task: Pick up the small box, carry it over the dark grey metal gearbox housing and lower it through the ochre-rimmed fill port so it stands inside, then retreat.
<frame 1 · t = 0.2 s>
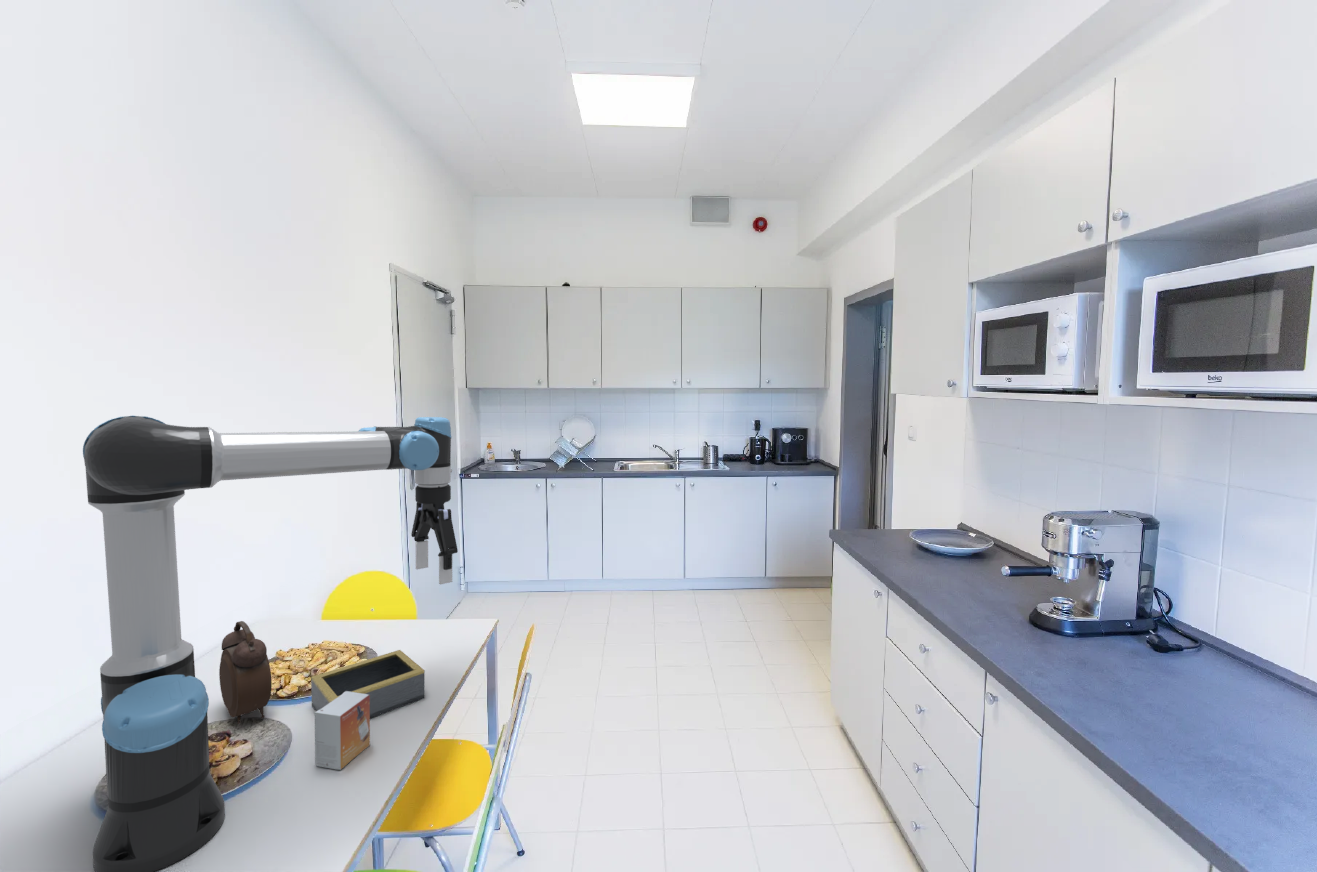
hand: (433, 575, 127), 28 cm above the table, fingers open, 13 cm apart
housing: (369, 701, 124), on the table
alarm clock: (247, 714, 118), on the table
small box: (343, 756, 106), on the table
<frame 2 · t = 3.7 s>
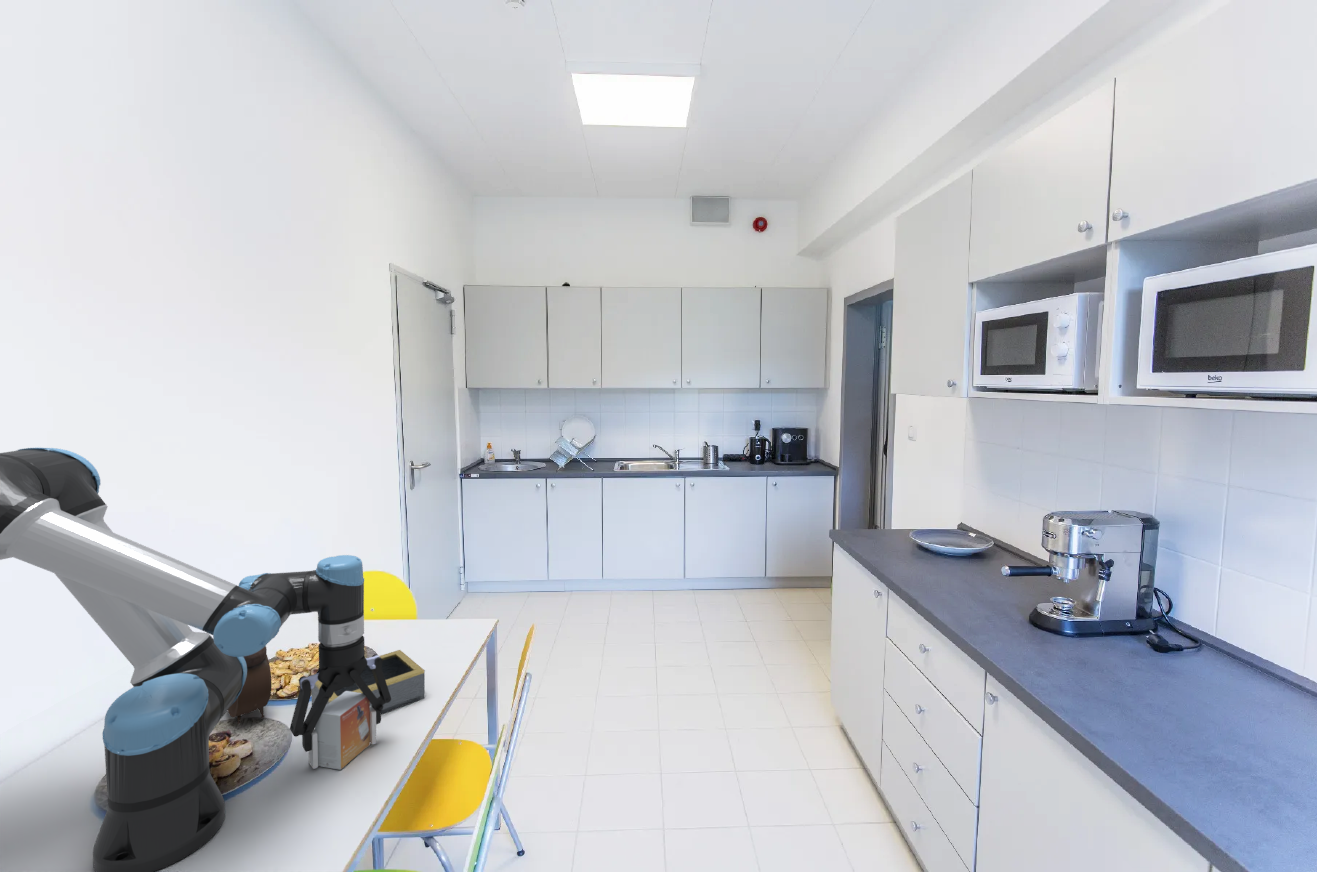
hand: (343, 752, 106), 1 cm above the table, fingers closed on small box, 9 cm apart
small box: (343, 756, 106), on the table, touching gripper
everything else where it was.
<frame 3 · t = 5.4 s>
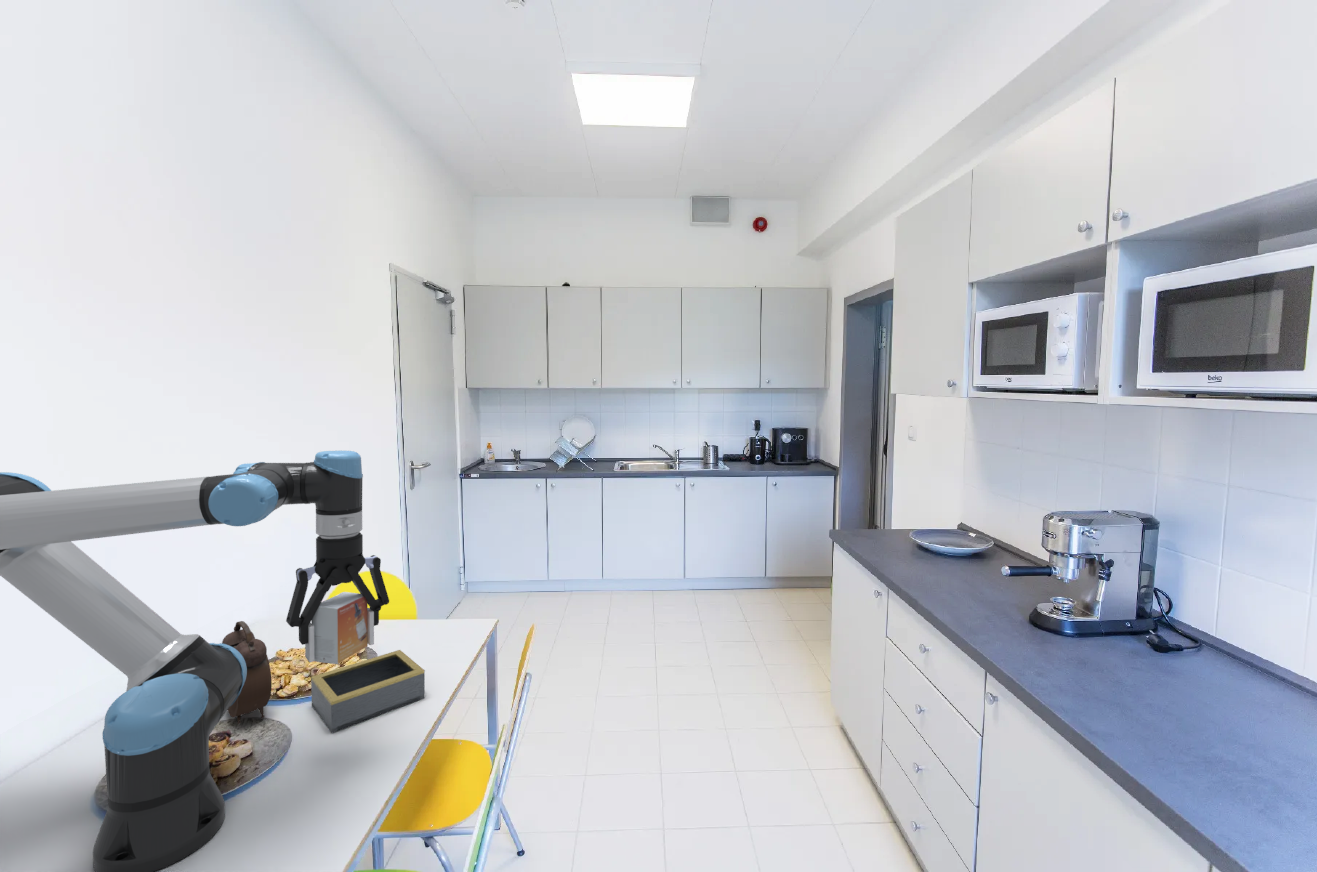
hand: (340, 650, 104), 21 cm above the table, fingers closed on small box, 9 cm apart
small box: (340, 654, 104), point 20 cm above the table, touching gripper
everything else where it was.
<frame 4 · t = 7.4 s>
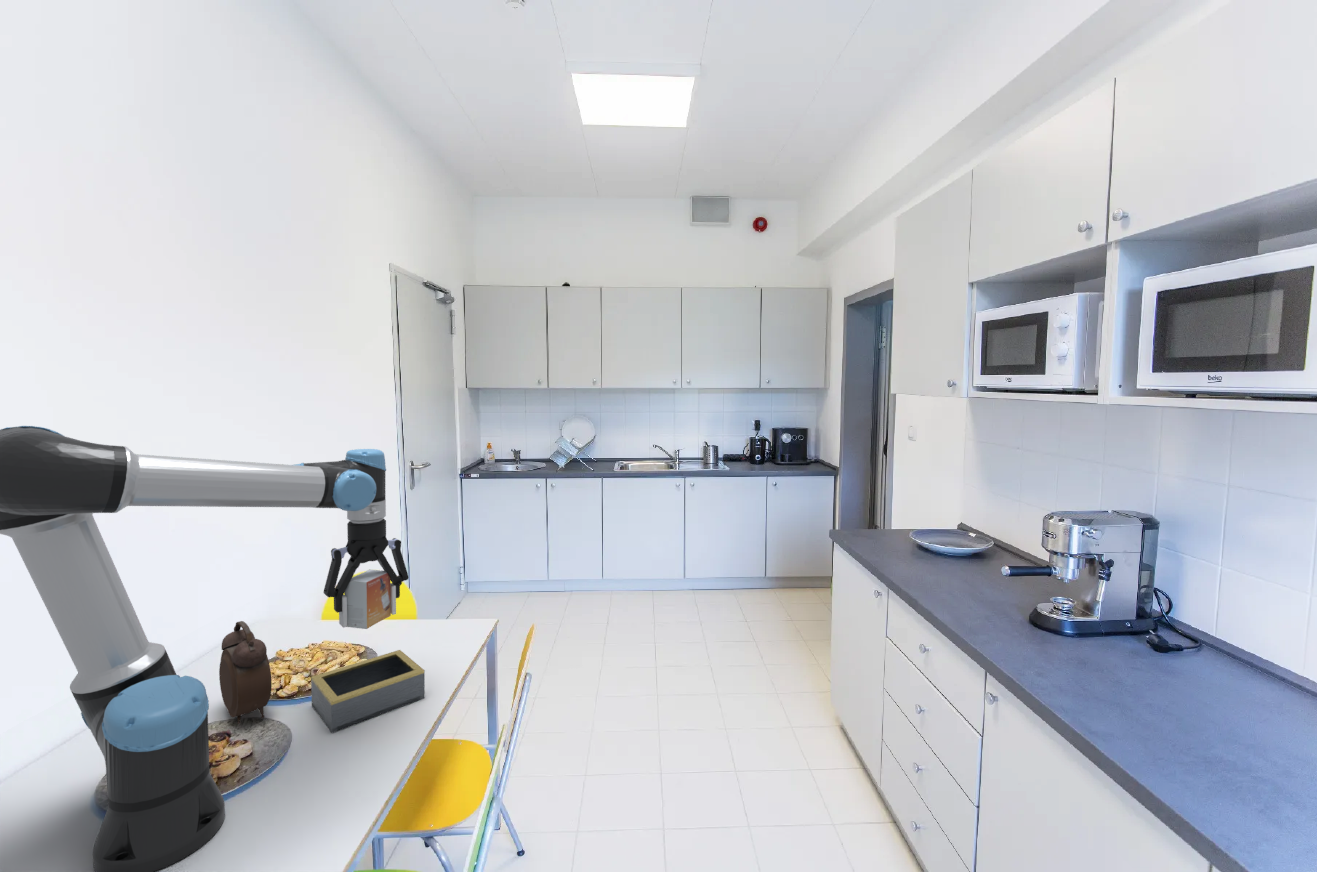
hand: (368, 618, 122), 19 cm above the table, fingers closed on small box, 9 cm apart
small box: (368, 622, 122), point 18 cm above the table, touching gripper
everything else where it was.
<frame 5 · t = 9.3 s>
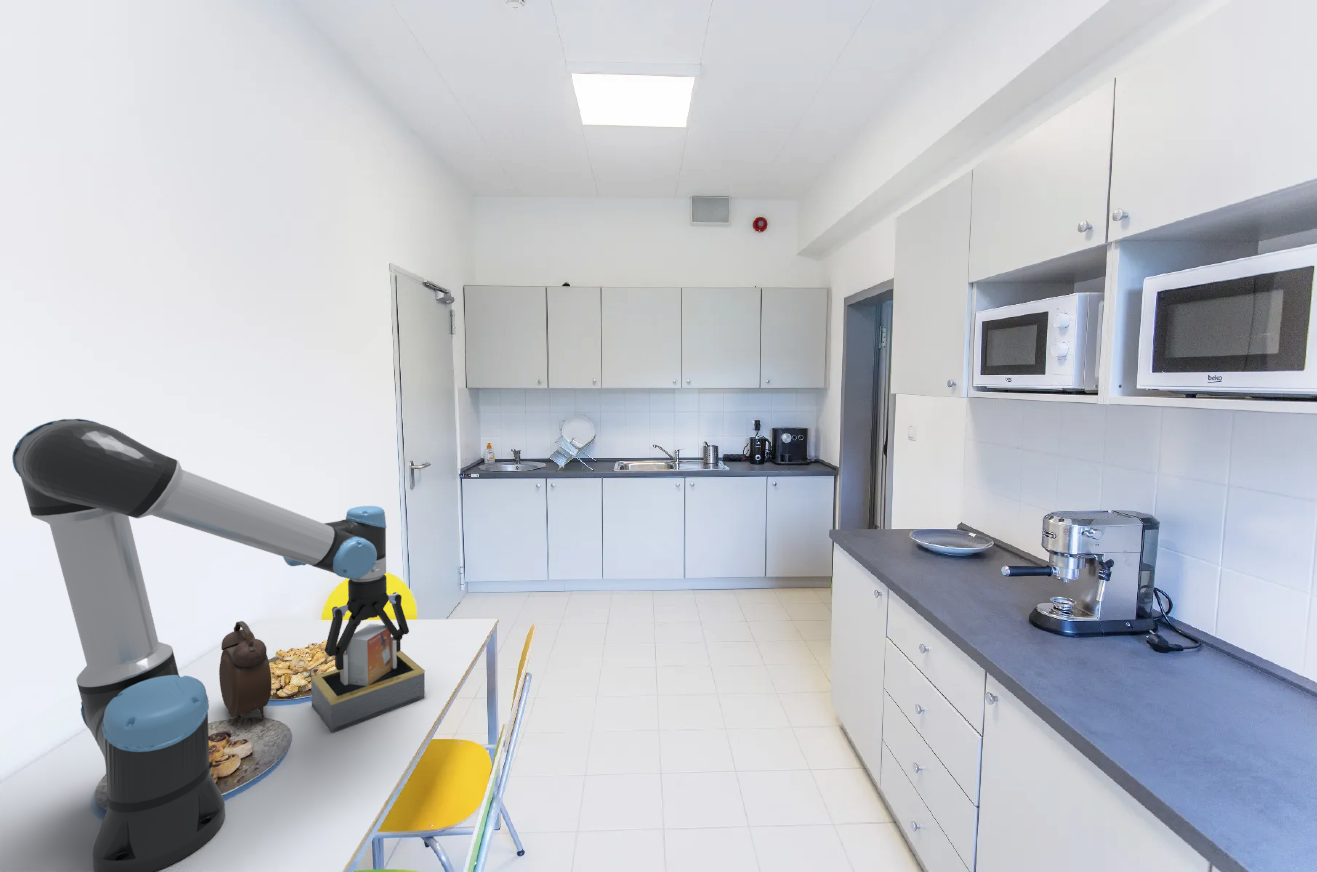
hand: (369, 674, 123), 6 cm above the table, fingers closed on small box, 9 cm apart
small box: (369, 677, 123), point 6 cm above the table, touching gripper
everything else where it was.
when the fingers open (4 cm above the table, at t = 11.0 s): small box drops 2 cm, resting on housing.
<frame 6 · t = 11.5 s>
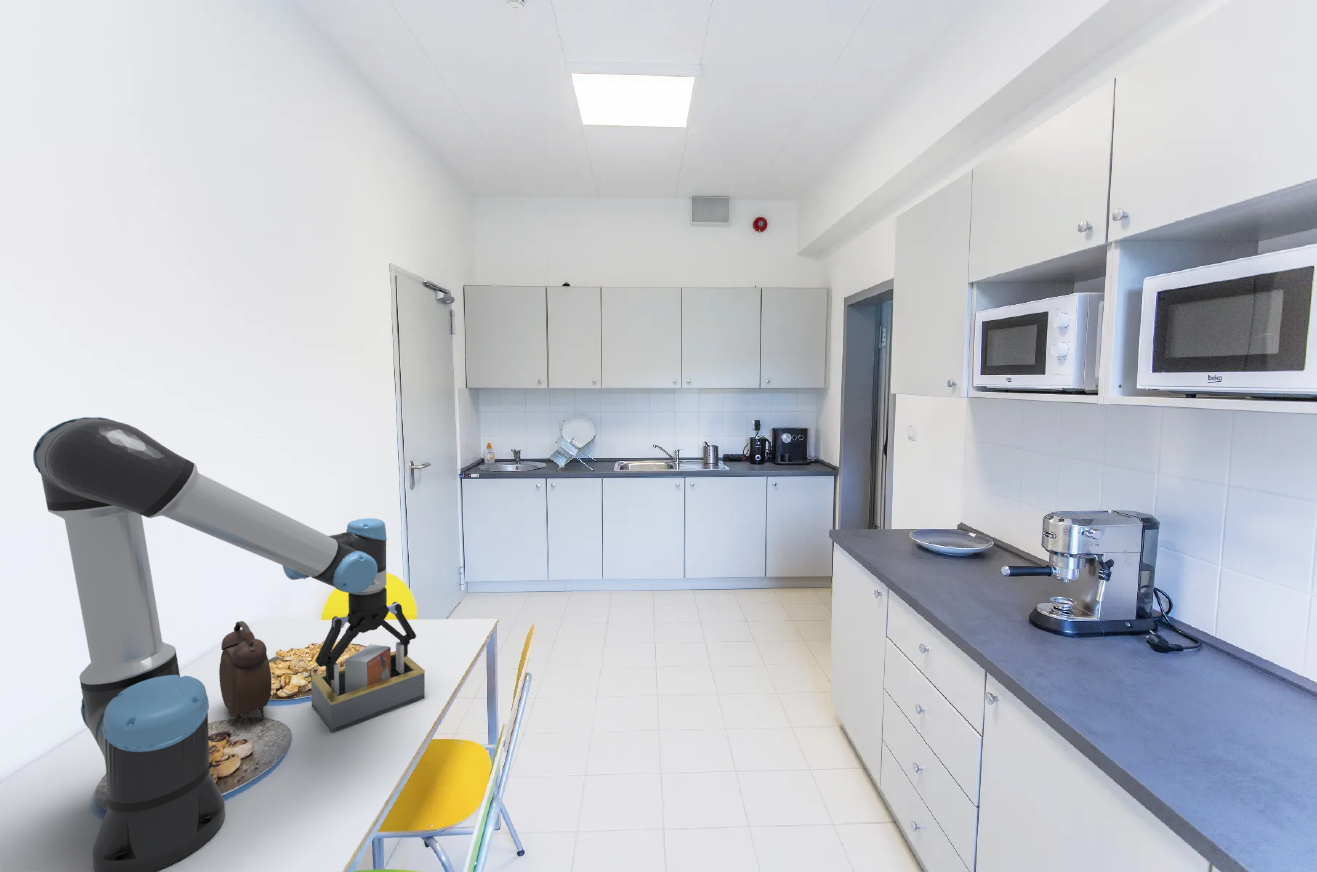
hand: (368, 681, 123), 5 cm above the table, fingers open, 13 cm apart
small box: (368, 698, 124), point 1 cm above the table, touching housing
everything else where it was.
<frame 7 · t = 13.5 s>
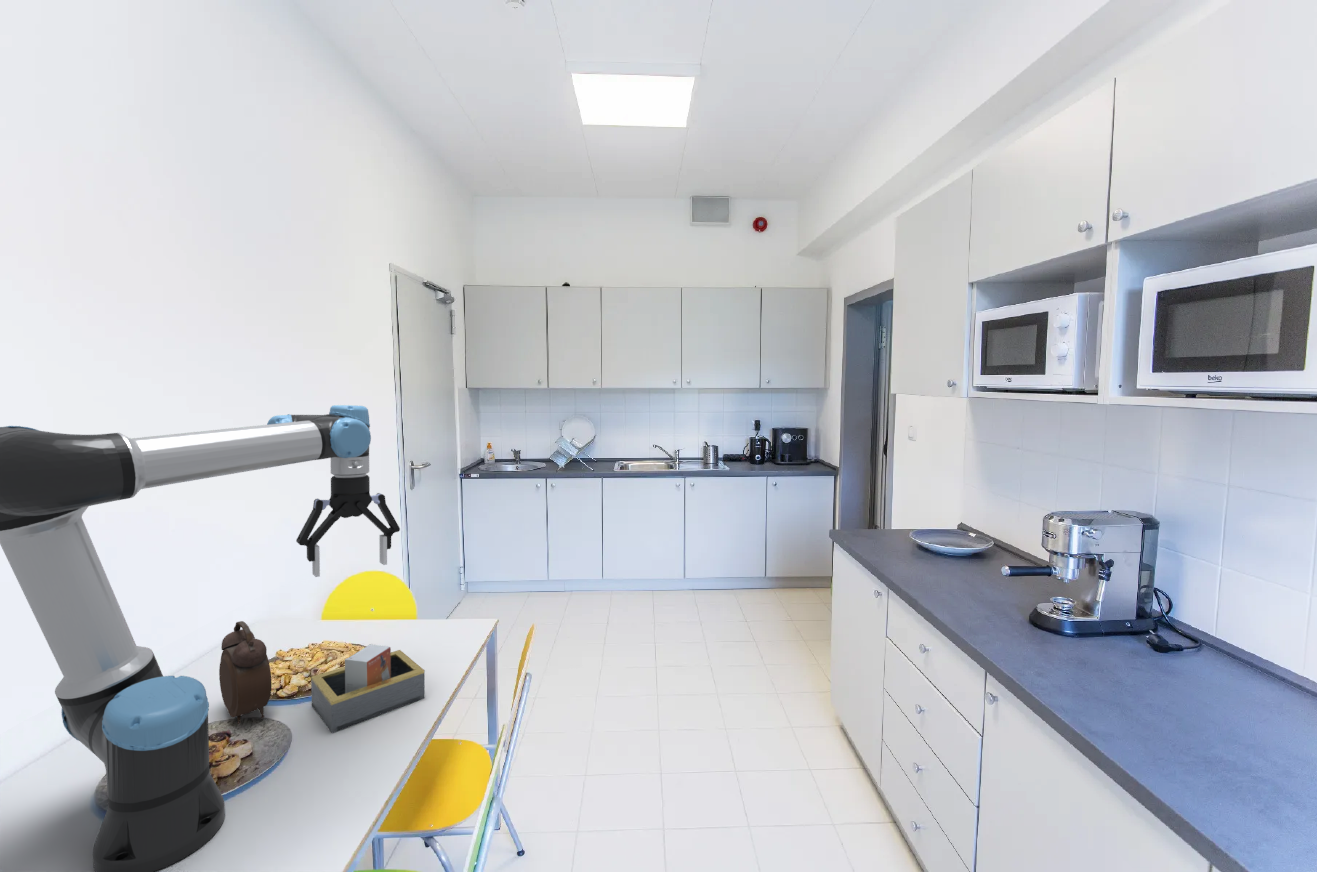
hand: (351, 569, 123), 30 cm above the table, fingers open, 13 cm apart
nothing on the table moved.
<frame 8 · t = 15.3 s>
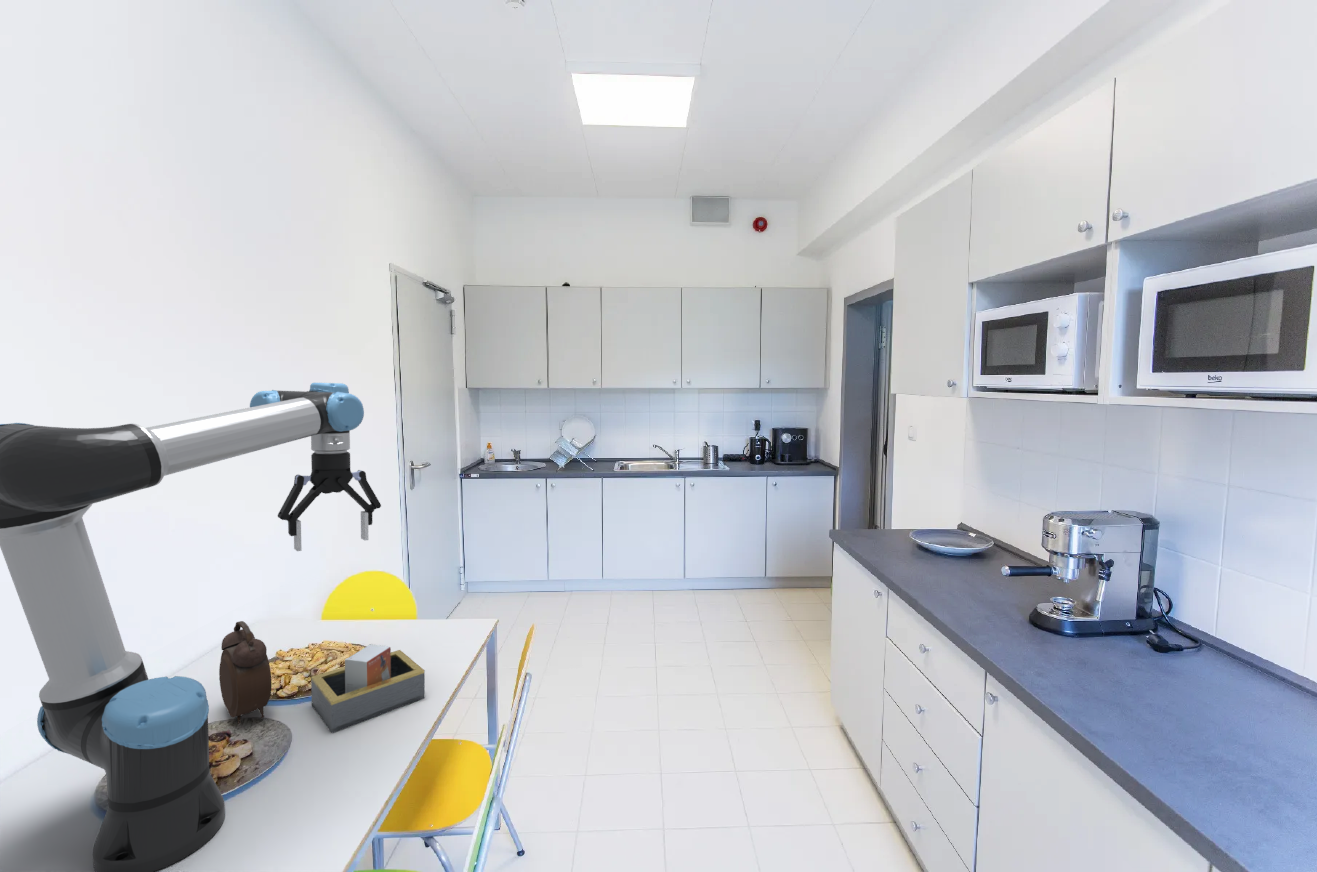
hand: (332, 544, 125), 35 cm above the table, fingers open, 13 cm apart
nothing on the table moved.
at the end: small box inside the target area on the housing (0.1 cm from its centre), point 0.8 cm above the housing's base; small box tilted 0°; the gripper is holding nothing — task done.
